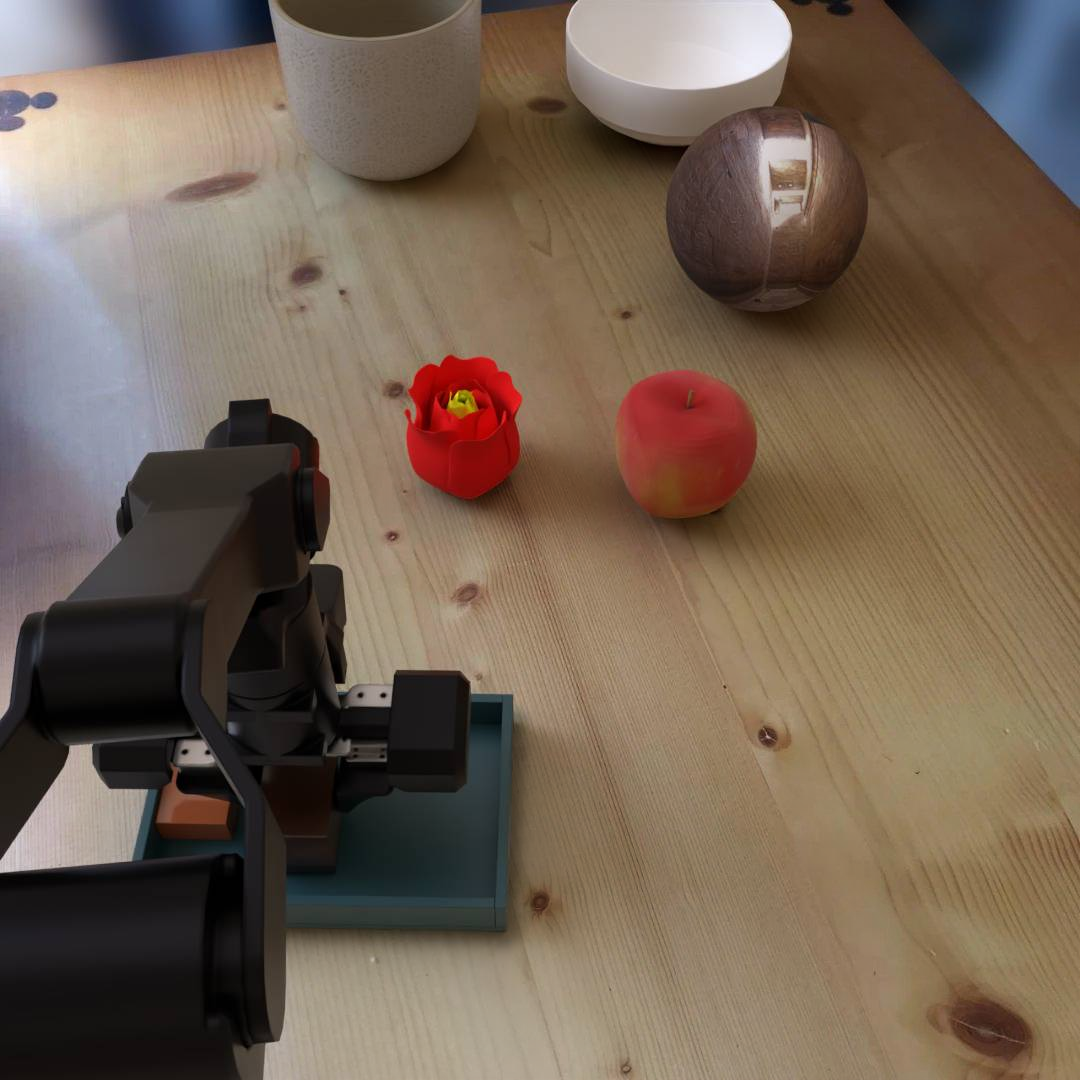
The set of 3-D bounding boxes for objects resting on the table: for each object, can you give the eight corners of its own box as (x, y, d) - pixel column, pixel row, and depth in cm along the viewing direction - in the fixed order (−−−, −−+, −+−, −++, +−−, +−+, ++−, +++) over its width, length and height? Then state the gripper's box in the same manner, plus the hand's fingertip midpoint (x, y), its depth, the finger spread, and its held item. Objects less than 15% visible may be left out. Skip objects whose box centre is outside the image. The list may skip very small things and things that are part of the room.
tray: (135, 925, 71) (121, 902, 68) (181, 716, 79) (170, 688, 77) (507, 931, 71) (506, 908, 68) (513, 721, 79) (513, 693, 77)
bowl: (577, 46, 127) (580, -38, 120) (781, 63, 125) (794, -22, 118) (550, 166, 114) (551, 79, 108) (775, 186, 113) (790, 99, 106)
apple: (729, 565, 87) (749, 464, 79) (591, 532, 88) (597, 430, 81) (757, 462, 92) (778, 359, 85) (627, 433, 94) (635, 329, 86)
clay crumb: (161, 839, 73) (153, 823, 72) (175, 776, 76) (168, 758, 74) (232, 840, 73) (226, 824, 72) (244, 777, 76) (238, 760, 74)
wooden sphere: (703, 370, 98) (726, 206, 87) (631, 250, 107) (642, 86, 95) (881, 328, 101) (926, 163, 90) (796, 214, 110) (827, 51, 99)
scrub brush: (266, 877, 72) (250, 836, 68) (285, 750, 77) (272, 705, 73) (338, 878, 72) (327, 837, 68) (353, 750, 77) (343, 705, 73)
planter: (341, 229, 109) (318, 62, 97) (265, 126, 118) (235, -38, 106) (520, 169, 114) (518, 5, 102) (433, 75, 123) (423, -86, 111)
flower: (541, 488, 91) (542, 406, 85) (445, 534, 88) (438, 454, 82) (482, 419, 95) (479, 337, 89) (389, 462, 92) (379, 380, 86)
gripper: (470, 519, 66) (480, 685, 79) (104, 515, 67) (171, 682, 79) (459, 706, 59) (472, 857, 72) (51, 701, 60) (132, 853, 72)
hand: (309, 804), depth 74 cm, fingers closed on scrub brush, 4 cm apart
